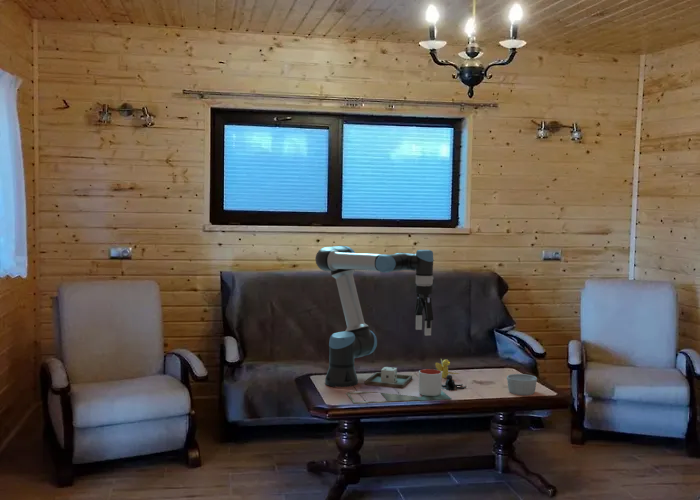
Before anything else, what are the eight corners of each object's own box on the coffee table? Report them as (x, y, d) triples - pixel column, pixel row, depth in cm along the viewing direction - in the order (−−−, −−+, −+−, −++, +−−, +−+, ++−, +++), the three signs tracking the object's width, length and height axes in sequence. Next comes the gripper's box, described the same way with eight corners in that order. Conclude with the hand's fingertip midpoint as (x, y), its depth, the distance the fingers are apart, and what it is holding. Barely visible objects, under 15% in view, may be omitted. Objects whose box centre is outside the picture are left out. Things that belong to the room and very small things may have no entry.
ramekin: (500, 390, 324) (500, 374, 323) (524, 387, 329) (524, 372, 329) (518, 397, 312) (518, 381, 311) (542, 394, 317) (543, 379, 316)
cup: (417, 396, 309) (418, 373, 309) (419, 390, 319) (419, 368, 318) (440, 397, 308) (441, 374, 307) (441, 391, 317) (442, 369, 317)
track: (353, 403, 298) (353, 402, 298) (346, 393, 314) (346, 392, 314) (451, 399, 307) (451, 398, 307) (439, 389, 323) (439, 388, 323)
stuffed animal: (468, 388, 322) (447, 373, 321) (455, 406, 322) (434, 391, 321) (463, 381, 333) (442, 367, 332) (451, 398, 334) (430, 384, 333)
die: (380, 382, 332) (381, 369, 331) (384, 379, 338) (384, 366, 337) (393, 383, 330) (393, 370, 329) (396, 380, 336) (397, 367, 335)
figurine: (459, 381, 337) (460, 363, 336) (434, 379, 341) (435, 361, 341) (464, 376, 348) (465, 358, 348) (440, 373, 352) (440, 356, 352)
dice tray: (364, 385, 328) (364, 381, 328) (375, 376, 345) (376, 372, 345) (402, 389, 322) (402, 384, 322) (412, 379, 339) (412, 375, 339)
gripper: (441, 288, 304) (440, 337, 305) (423, 281, 328) (422, 327, 330) (424, 288, 302) (423, 338, 304) (408, 281, 327) (407, 327, 328)
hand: (423, 332), depth 317 cm, fingers open, 13 cm apart
